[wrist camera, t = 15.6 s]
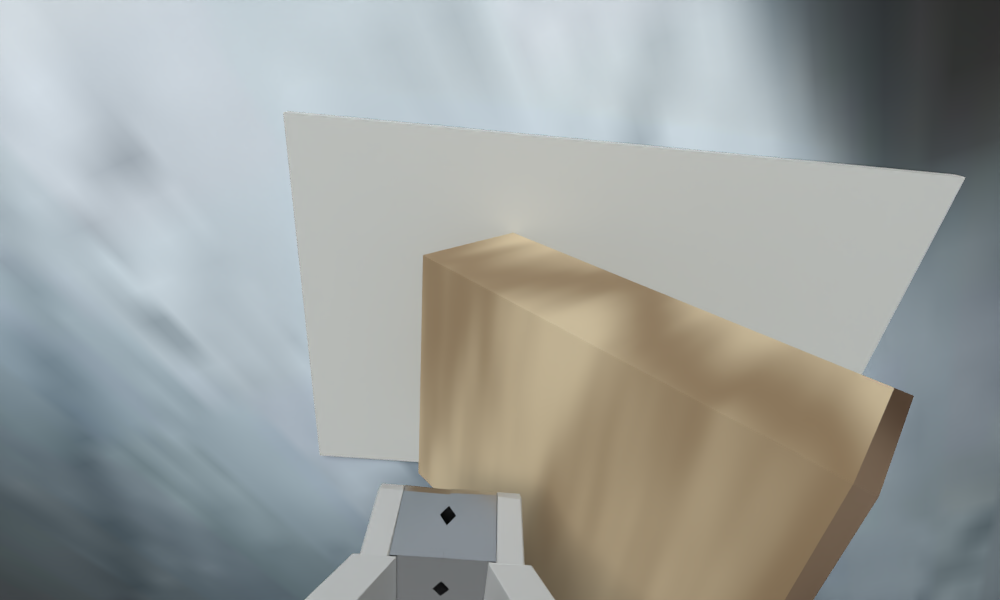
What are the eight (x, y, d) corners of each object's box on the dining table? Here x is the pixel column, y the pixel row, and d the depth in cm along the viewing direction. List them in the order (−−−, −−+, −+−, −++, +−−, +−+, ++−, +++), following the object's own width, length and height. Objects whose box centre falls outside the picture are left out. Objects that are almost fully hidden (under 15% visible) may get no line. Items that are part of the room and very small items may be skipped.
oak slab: (513, 232, 15) (913, 396, 9) (491, 428, 19) (766, 641, 12) (422, 255, 13) (878, 497, 7) (418, 473, 16) (710, 761, 10)
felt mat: (954, 174, 15) (965, 177, 14) (796, 480, 20) (801, 488, 20) (288, 111, 14) (283, 112, 14) (323, 448, 20) (319, 455, 19)
